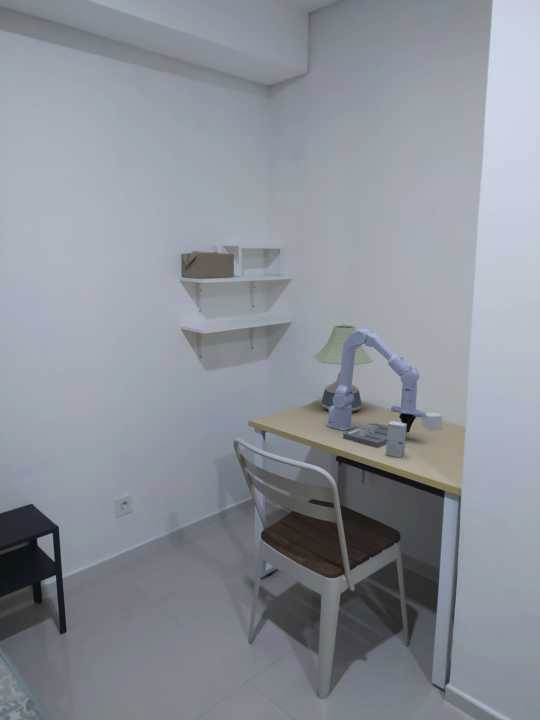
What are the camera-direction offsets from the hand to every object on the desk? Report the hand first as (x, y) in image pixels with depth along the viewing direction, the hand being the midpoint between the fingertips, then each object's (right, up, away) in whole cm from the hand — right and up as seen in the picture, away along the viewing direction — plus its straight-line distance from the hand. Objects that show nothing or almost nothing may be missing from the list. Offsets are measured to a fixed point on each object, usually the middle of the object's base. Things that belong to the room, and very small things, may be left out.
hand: (406, 432), depth 222 cm
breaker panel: (-12, -2, +2) cm, 13 cm away
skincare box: (-9, -6, -18) cm, 21 cm away
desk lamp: (-21, +5, +44) cm, 49 cm away
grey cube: (+15, -1, +17) cm, 22 cm away
